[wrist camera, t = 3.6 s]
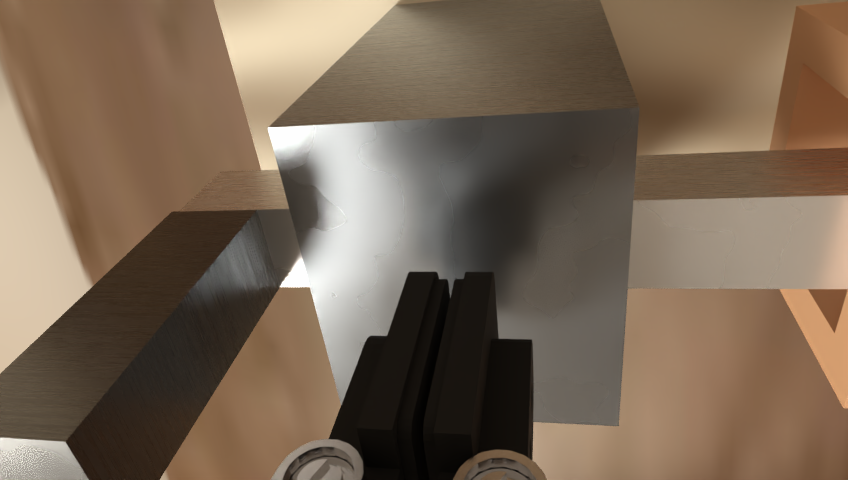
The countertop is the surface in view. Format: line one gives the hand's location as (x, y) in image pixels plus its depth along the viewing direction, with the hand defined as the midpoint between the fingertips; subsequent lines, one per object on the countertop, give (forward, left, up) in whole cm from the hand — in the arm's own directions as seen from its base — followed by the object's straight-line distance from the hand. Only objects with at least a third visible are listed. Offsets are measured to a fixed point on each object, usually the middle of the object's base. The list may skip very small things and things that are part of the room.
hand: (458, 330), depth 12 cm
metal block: (0, 0, -13) cm, 13 cm away
